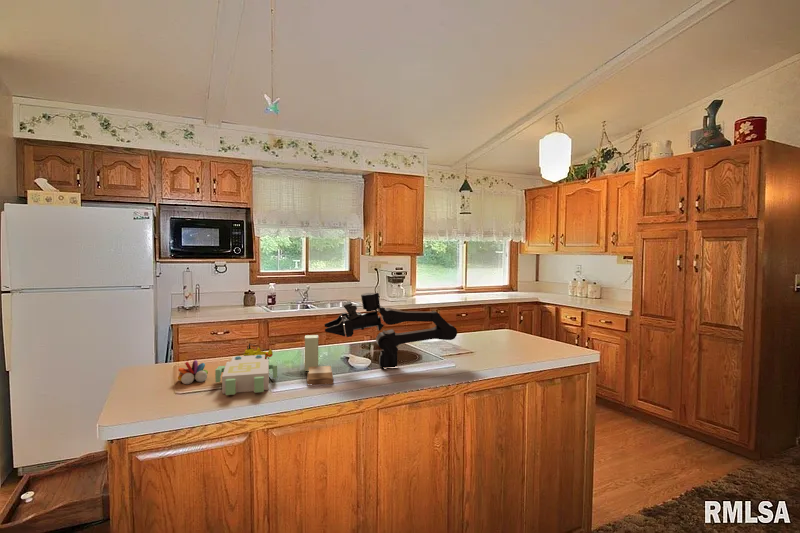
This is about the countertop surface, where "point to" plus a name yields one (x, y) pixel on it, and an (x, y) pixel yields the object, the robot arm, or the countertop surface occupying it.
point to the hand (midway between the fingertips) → (324, 327)
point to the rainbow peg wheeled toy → (192, 373)
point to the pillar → (311, 351)
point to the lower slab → (319, 381)
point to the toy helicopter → (257, 352)
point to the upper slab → (320, 372)
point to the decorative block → (245, 374)
